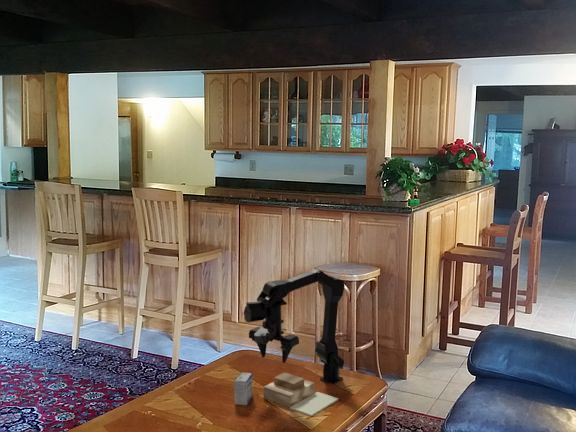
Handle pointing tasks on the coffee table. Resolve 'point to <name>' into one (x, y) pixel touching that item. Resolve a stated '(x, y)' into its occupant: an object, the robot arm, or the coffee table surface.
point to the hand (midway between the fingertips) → (273, 360)
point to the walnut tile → (289, 381)
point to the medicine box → (243, 388)
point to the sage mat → (314, 403)
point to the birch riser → (288, 393)
